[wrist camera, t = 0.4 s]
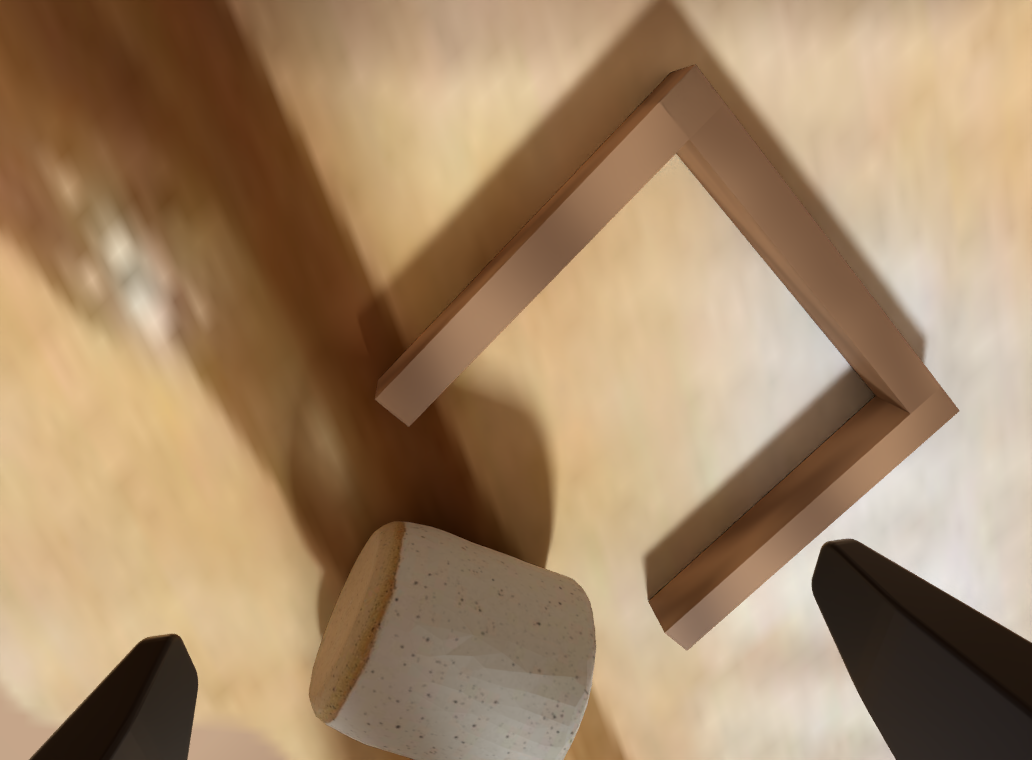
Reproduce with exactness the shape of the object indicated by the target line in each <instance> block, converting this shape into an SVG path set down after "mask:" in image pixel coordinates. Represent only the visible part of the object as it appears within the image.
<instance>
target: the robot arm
mask: <svg viewBox="0 0 1032 760" xmlns="http://www.w3.org/2000/svg"><path fill="white" fill-rule="evenodd" d="M812 591H813V595H814V597H815V600H816V602H817V604H818V606H819V609H820V611H821V613H822V615H823V617H824V620H825V622H826V624H827V626H828V628H829V631H830V633H831V635H832V637H833V639H834V642H835V644H836V646H837V648H838V650H839V653H840V655H841V657H842V659H843V661H844V664H845V666H846V668H847V670H848V672H849V675H850V677H851V679H852V681H853V683H854V685H855V687H856V689H857V691H858V693H859V695H860V697H861V699H862V701H863V703H864V705H865V706H866V708H867V710H868V712H869V714H870V715H871V717H872V719H873V721H874V722H875V724H876V726H877V727H878V729H879V731H880V733H881V734H882V736H883V738H884V740H885V741H886V743H887V745H888V747H889V748H890V750H891V752H892V754H893V755H894V757H895V759H896V760H1032V643H1031V642H1029V641H1028V640H1026V639H1024V638H1023V637H1021V636H1019V635H1018V634H1016V633H1014V632H1012V631H1011V630H1009V629H1007V628H1006V627H1004V626H1002V625H1000V624H999V623H997V622H995V621H994V620H992V619H990V618H988V617H987V616H985V615H983V614H982V613H980V612H978V611H977V610H975V609H973V608H971V607H970V606H968V605H966V604H965V603H963V602H961V601H959V600H958V599H956V598H954V597H953V596H951V595H949V594H947V593H946V592H944V591H942V590H941V589H939V588H937V587H936V586H934V585H932V584H930V583H929V582H927V581H925V580H924V579H922V578H920V577H918V576H917V575H915V574H913V573H912V572H910V571H908V570H906V569H905V568H903V567H901V566H900V565H898V564H896V563H895V562H893V561H891V560H889V559H888V558H886V557H884V556H883V555H881V554H879V553H877V552H876V551H874V550H872V549H871V548H869V547H867V546H865V545H864V544H862V543H860V542H858V541H856V540H854V539H841V540H834V541H828V542H826V543H825V544H824V545H823V546H822V548H821V550H820V554H819V557H818V560H817V564H816V567H815V570H814V574H813V577H812ZM197 691H198V677H197V672H196V669H195V667H194V665H193V663H192V660H191V658H190V656H189V654H188V652H187V649H186V647H185V645H184V643H183V641H182V639H181V637H180V636H178V635H177V634H167V635H159V636H152V637H147V638H145V639H143V640H142V641H140V642H139V643H138V644H137V645H136V646H135V647H134V648H133V649H132V650H131V651H130V652H129V653H128V654H127V655H126V656H125V658H124V659H123V660H122V661H121V662H120V663H119V664H118V665H117V666H116V667H115V668H114V669H113V670H112V671H111V672H110V674H109V675H108V676H107V677H106V678H105V679H104V680H103V681H102V682H101V683H100V684H99V685H98V686H97V687H96V689H95V690H94V691H93V692H92V693H91V694H90V695H89V696H88V697H87V698H86V699H85V700H84V701H83V702H82V704H81V705H80V706H79V707H78V708H77V709H76V710H75V711H74V712H73V713H72V714H71V715H70V716H69V717H68V718H67V720H66V721H65V722H64V723H63V724H62V725H61V726H60V727H59V728H58V729H57V730H56V731H55V732H54V733H53V735H52V736H51V737H50V738H49V739H48V740H47V741H46V742H45V743H44V744H43V745H42V746H41V748H40V749H39V750H38V751H37V752H36V753H35V754H34V755H33V756H32V757H31V758H30V759H29V760H187V758H188V752H189V744H190V737H191V732H192V725H193V718H194V712H195V705H196V698H197Z"/></svg>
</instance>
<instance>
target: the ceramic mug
mask: <svg viewBox="0 0 1032 760" xmlns="http://www.w3.org/2000/svg"><path fill="white" fill-rule="evenodd" d="M595 653H596V640H595V626H594V620H593V612H592V608H591V604H590V601H589V599H588V597H587V595H586V593H585V591H584V590H583V589H582V587H581V586H580V585H579V584H578V583H576V582H575V581H574V580H573V579H571V578H569V577H566V576H564V575H561V574H558V573H555V572H553V571H550V570H547V569H544V568H541V567H539V566H536V565H533V564H530V563H527V562H524V561H522V560H520V559H517V558H515V557H512V556H509V555H507V554H504V553H501V552H498V551H495V550H493V549H490V548H487V547H484V546H481V545H478V544H475V543H473V542H470V541H468V540H465V539H463V538H460V537H458V536H456V535H453V534H451V533H449V532H446V531H443V530H440V529H437V528H434V527H431V526H426V525H421V524H416V523H411V522H403V521H395V522H390V523H388V524H385V525H383V526H382V527H380V528H379V529H378V530H376V531H375V532H374V533H373V534H372V535H371V537H370V538H369V540H368V541H367V543H366V544H365V546H364V548H363V549H362V551H361V553H360V555H359V556H358V558H357V560H356V562H355V564H354V566H353V568H352V570H351V572H350V574H349V576H348V578H347V580H346V582H345V585H344V587H343V589H342V591H341V593H340V596H339V598H338V600H337V603H336V605H335V607H334V610H333V612H332V615H331V617H330V620H329V622H328V625H327V627H326V630H325V633H324V636H323V639H322V642H321V644H320V647H319V650H318V653H317V657H316V660H315V663H314V667H313V672H312V677H311V683H310V688H309V698H310V702H311V705H312V708H313V710H314V712H315V715H316V716H317V717H318V718H319V719H320V720H322V721H323V722H324V723H325V724H326V725H328V726H330V727H332V728H334V729H335V730H337V731H339V732H341V733H343V734H345V735H347V736H348V737H350V738H353V739H355V740H357V741H359V742H361V743H363V744H365V745H369V746H372V747H375V748H378V749H382V750H385V751H388V752H391V753H395V754H398V755H401V756H405V757H408V758H411V759H414V760H563V759H564V757H565V755H566V753H567V751H568V750H569V748H570V746H571V744H572V742H573V740H574V737H575V735H576V733H577V731H578V728H579V726H580V723H581V720H582V718H583V715H584V712H585V710H586V707H587V703H588V699H589V695H590V691H591V686H592V678H593V669H594V662H595Z"/></svg>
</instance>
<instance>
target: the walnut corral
mask: <svg viewBox="0 0 1032 760" xmlns="http://www.w3.org/2000/svg"><path fill="white" fill-rule="evenodd" d="M675 154H677V155H678V156H679V157H680V159H681V160H682V161H683V162H684V163H685V165H686V166H687V167H688V168H689V170H690V171H691V172H692V173H693V174H694V176H695V177H696V178H697V179H698V180H699V182H700V183H701V184H702V185H703V187H704V188H705V189H706V190H707V191H708V193H709V194H710V195H711V196H712V197H713V199H714V200H715V201H716V202H717V204H718V205H719V206H720V207H721V208H722V210H723V211H724V212H725V213H726V215H727V216H728V217H729V218H730V219H731V221H732V222H733V223H734V224H735V225H736V227H737V228H738V229H739V230H740V232H741V233H742V234H743V235H744V236H745V238H746V239H747V240H748V241H749V242H750V244H751V245H752V246H753V247H754V249H755V250H756V251H757V252H758V253H759V255H760V256H761V257H762V258H763V259H764V261H765V262H766V263H767V264H768V266H769V267H770V268H771V269H772V270H773V272H774V273H775V274H776V275H777V277H778V278H779V279H780V280H781V281H782V283H783V284H784V285H785V286H786V287H787V289H788V290H789V291H790V292H791V294H792V295H793V296H794V297H795V298H796V300H797V301H798V302H799V303H800V304H801V306H802V307H803V308H804V309H805V311H806V312H807V313H808V314H809V315H810V317H811V318H812V319H813V320H814V322H815V323H816V324H817V325H818V326H819V328H820V329H821V330H822V331H823V332H824V334H825V335H826V336H827V337H828V339H829V340H830V341H831V342H832V343H833V345H834V346H835V347H836V348H837V349H838V351H839V352H840V353H841V354H842V356H843V357H844V358H845V359H846V360H847V362H848V363H849V364H850V365H851V366H852V368H853V369H854V370H855V371H856V373H857V374H858V375H859V376H860V377H861V379H862V380H863V381H864V382H865V384H866V385H867V386H868V387H869V388H870V390H871V391H872V392H873V393H874V394H875V397H874V398H873V399H872V400H871V401H869V402H868V403H867V404H866V405H865V406H864V407H863V408H862V409H861V410H859V411H858V412H857V413H856V414H855V415H854V416H853V417H852V418H851V419H850V420H848V421H847V422H846V423H845V424H844V425H843V426H842V427H841V428H840V429H838V430H837V431H836V432H835V433H834V434H833V435H832V436H831V437H830V438H828V439H827V440H826V441H825V442H824V443H823V444H822V445H821V446H820V447H819V448H817V449H816V450H815V451H814V452H813V453H812V454H811V455H810V456H809V457H807V458H806V459H805V460H804V461H803V462H802V463H801V464H800V465H799V466H798V467H796V468H795V469H794V470H793V471H792V472H791V473H790V474H789V475H788V476H786V477H785V478H784V479H783V480H782V481H781V482H780V483H779V484H778V485H776V486H775V487H774V488H773V489H772V490H771V491H770V492H769V493H768V494H767V495H765V496H764V497H763V498H762V499H761V500H760V501H759V502H758V503H757V504H755V505H754V506H753V507H752V508H751V509H750V510H749V511H748V512H747V513H746V514H744V515H743V516H742V517H741V518H740V519H739V520H738V521H737V522H736V523H734V524H733V525H732V526H731V527H730V528H729V529H728V530H727V531H726V532H724V533H723V534H722V535H721V536H720V537H719V538H718V539H717V540H716V541H715V542H713V543H712V544H711V545H710V546H709V547H708V548H707V549H706V550H705V551H703V552H702V553H701V554H700V555H699V556H698V557H697V558H696V559H695V560H693V561H692V562H691V563H690V564H689V565H688V566H687V567H686V568H685V569H684V570H682V571H681V572H680V573H679V574H678V575H677V576H676V577H675V578H674V579H672V580H671V581H670V582H669V583H668V584H667V585H666V586H665V587H664V588H663V589H661V590H660V591H659V592H658V593H657V594H656V595H655V596H654V597H653V598H651V599H650V600H649V601H648V602H649V604H650V606H651V607H652V609H653V611H654V613H655V615H656V617H657V619H658V621H659V623H660V625H661V626H662V628H663V630H664V632H665V633H666V634H667V635H668V636H669V637H671V638H672V639H673V640H674V641H676V642H677V643H678V644H679V645H681V646H682V647H683V648H684V649H686V650H688V649H689V648H691V647H692V646H693V645H694V644H695V643H696V642H697V641H699V640H700V639H701V638H702V637H703V636H704V635H705V634H706V633H708V632H709V631H710V630H711V629H712V628H713V627H714V626H716V625H717V624H718V623H719V622H720V621H721V620H722V619H724V618H725V617H726V616H727V615H728V614H729V613H730V612H731V611H733V610H734V609H735V608H736V607H737V606H738V605H739V604H741V603H742V602H743V601H744V600H745V599H746V598H747V597H749V596H750V595H751V594H752V593H753V592H754V591H755V590H756V589H758V588H759V587H760V586H761V585H762V584H763V583H764V582H766V581H767V580H768V579H769V578H770V577H771V576H772V575H774V574H775V573H776V572H777V571H778V570H779V569H780V568H782V567H783V566H784V565H785V564H786V563H787V562H788V561H789V560H791V559H792V558H793V557H794V556H795V555H796V554H797V553H799V552H800V551H801V550H802V549H803V548H804V547H805V546H807V545H808V544H809V543H810V542H811V541H812V540H813V539H814V538H816V537H817V536H818V535H819V534H820V533H821V532H822V531H824V530H825V529H826V528H827V527H828V526H829V525H830V524H832V523H833V522H834V521H835V520H836V519H837V518H838V517H839V516H841V515H842V514H843V513H844V512H845V511H846V510H847V509H849V508H850V507H851V506H852V505H853V504H854V503H855V502H857V501H858V500H859V499H860V498H861V497H862V496H863V495H864V494H866V493H867V492H868V491H869V490H870V489H871V488H872V487H874V486H875V485H876V484H877V483H878V482H879V481H880V480H882V479H883V478H884V477H885V476H886V475H887V474H888V473H890V472H891V471H892V470H893V469H894V468H895V467H896V466H897V465H899V464H900V463H901V462H902V461H903V460H904V459H905V458H907V457H908V456H909V455H910V454H911V453H912V452H913V451H915V450H916V449H917V448H918V447H919V446H920V445H921V444H922V443H924V442H925V441H926V440H927V439H928V438H929V437H930V436H932V435H933V434H934V433H935V432H936V431H937V430H938V429H940V428H941V427H942V426H943V425H944V424H945V423H946V422H947V421H949V420H950V419H951V418H952V417H953V416H954V415H955V414H957V413H958V412H959V409H958V408H957V407H956V405H955V404H954V403H953V402H952V400H951V399H950V398H949V396H948V395H947V394H946V392H945V391H944V390H943V388H942V387H941V386H940V384H939V383H938V382H937V381H936V379H935V378H934V377H933V375H932V374H931V373H930V371H929V370H928V369H927V367H926V366H925V365H924V363H923V362H922V361H921V360H920V358H919V357H918V356H917V354H916V353H915V352H914V350H913V349H912V348H911V346H910V345H909V344H908V342H907V341H906V340H905V339H904V337H903V336H902V335H901V333H900V332H899V331H898V329H897V328H896V327H895V325H894V324H893V323H892V321H891V320H890V319H889V318H888V316H887V315H886V314H885V312H884V311H883V310H882V308H881V307H880V306H879V304H878V303H877V302H876V300H875V299H874V298H873V297H872V295H871V294H870V293H869V291H868V290H867V289H866V287H865V286H864V285H863V283H862V282H861V281H860V279H859V278H858V277H857V276H856V274H855V273H854V272H853V270H852V269H851V268H850V266H849V265H848V264H847V262H846V261H845V260H844V258H843V257H842V256H841V255H840V253H839V252H838V251H837V249H836V248H835V247H834V245H833V244H832V243H831V241H830V240H829V239H828V237H827V236H826V235H825V234H824V232H823V231H822V230H821V228H820V227H819V226H818V224H817V223H816V222H815V220H814V219H813V218H812V216H811V215H810V214H809V213H808V211H807V210H806V209H805V207H804V206H803V205H802V203H801V202H800V201H799V199H798V198H797V197H796V195H795V194H794V193H793V192H792V190H791V189H790V188H789V186H788V185H787V184H786V182H785V181H784V180H783V178H782V177H781V176H780V174H779V173H778V172H777V171H776V169H775V168H774V167H773V165H772V164H771V163H770V161H769V160H768V159H767V157H766V156H765V155H764V153H763V152H762V151H761V150H760V148H759V147H758V146H757V144H756V143H755V142H754V140H753V139H752V138H751V136H750V135H749V134H748V132H747V131H746V130H745V129H744V127H743V126H742V125H741V123H740V122H739V121H738V119H737V118H736V117H735V115H734V114H733V113H732V111H731V110H730V109H729V108H728V106H727V105H726V104H725V102H724V101H723V100H722V98H721V97H720V96H719V94H718V93H717V92H716V90H715V89H714V88H713V87H712V85H711V84H710V83H709V81H708V80H707V79H706V77H705V76H704V75H703V73H702V72H701V71H700V69H699V68H698V67H697V66H696V64H695V65H692V66H689V67H686V68H683V69H680V70H677V71H674V72H671V73H670V74H669V75H668V76H667V77H666V78H665V79H664V80H663V81H662V82H661V83H660V84H659V85H658V86H657V87H656V89H655V90H654V91H653V92H652V93H651V94H650V95H649V96H648V97H647V98H646V99H645V100H644V101H643V102H642V103H641V104H640V105H639V106H638V107H637V108H636V110H635V111H634V112H633V113H632V114H631V115H630V116H629V117H628V118H627V119H626V120H625V121H624V122H623V123H622V124H621V125H620V126H619V127H618V128H617V129H616V131H615V132H614V133H613V134H612V135H611V136H610V137H609V138H608V139H607V140H606V141H605V142H604V143H603V144H602V145H601V146H600V147H599V148H598V149H597V150H596V152H595V153H594V154H593V155H592V156H591V157H590V158H589V159H588V160H587V161H586V162H585V163H584V164H583V165H582V166H581V167H580V168H579V169H578V170H577V171H576V173H575V174H574V175H573V176H572V177H571V178H570V179H569V180H568V181H567V182H566V183H565V184H564V185H563V186H562V187H561V188H560V189H559V190H558V191H557V192H556V194H555V195H554V196H553V197H552V198H551V199H550V200H549V201H548V202H547V203H546V204H545V205H544V206H543V207H542V208H541V209H540V210H539V211H538V212H537V214H536V215H535V216H534V217H533V218H532V219H531V220H530V221H529V222H528V223H527V224H526V225H525V226H524V227H523V228H522V229H521V230H520V231H519V232H518V233H517V235H516V236H515V237H514V238H513V239H512V240H511V241H510V242H509V243H508V244H507V245H506V246H505V247H504V248H503V249H502V250H501V251H500V252H499V253H498V254H497V256H496V257H495V258H494V259H493V260H492V261H491V262H490V263H489V264H488V265H487V266H486V267H485V268H484V269H483V270H482V271H481V272H480V273H479V274H478V275H477V277H476V278H475V279H474V280H473V281H472V282H471V283H470V284H469V285H468V286H467V287H466V288H465V289H464V290H463V291H462V292H461V293H460V294H459V295H458V296H457V298H456V299H455V300H454V301H453V302H452V303H451V304H450V305H449V306H448V307H447V308H446V309H445V310H444V311H443V312H442V313H441V314H440V315H439V316H438V317H437V319H436V320H435V321H434V322H433V323H432V324H431V325H430V326H429V327H428V328H427V329H426V330H425V331H424V332H423V333H422V334H421V335H420V336H419V337H418V338H417V340H416V341H415V342H414V343H413V344H412V345H411V346H410V347H409V348H408V349H407V350H406V351H405V352H404V353H403V354H402V355H401V356H400V357H399V358H398V359H397V361H396V362H395V363H394V364H393V365H392V366H391V367H390V368H389V369H388V370H387V371H386V372H385V373H384V374H383V375H382V376H381V377H380V378H379V379H378V383H377V389H376V395H375V400H376V401H377V402H378V403H380V404H381V405H382V406H383V407H385V408H386V409H387V410H388V411H390V412H391V413H392V414H393V415H395V416H396V417H397V418H398V419H400V420H401V421H402V422H403V423H405V424H406V425H407V426H408V427H409V426H410V425H411V424H412V423H413V422H414V421H415V420H416V419H417V418H418V417H419V416H420V415H421V414H422V413H423V412H424V411H425V410H426V409H427V408H428V407H429V406H430V405H431V404H432V403H433V402H434V401H435V400H436V399H437V398H438V397H439V396H440V395H441V393H442V392H443V391H444V390H445V389H446V388H447V387H448V386H449V385H450V384H451V383H452V382H453V381H454V380H455V379H456V378H457V377H458V376H459V375H460V374H461V373H462V372H463V371H464V370H465V369H466V368H467V367H468V366H469V365H470V364H471V363H472V362H473V361H474V360H475V359H476V358H477V357H478V356H479V355H480V353H481V352H482V351H483V350H484V349H485V348H486V347H487V346H488V345H489V344H490V343H491V342H492V341H493V340H494V339H495V338H496V337H497V336H498V335H499V334H500V333H501V332H502V331H503V330H504V329H505V328H506V327H507V326H508V325H509V324H510V323H511V322H512V321H513V320H514V319H515V318H516V317H517V316H518V315H519V313H520V312H521V311H522V310H523V309H524V308H525V307H526V306H527V305H528V304H529V303H530V302H531V301H532V300H533V299H534V298H535V297H536V296H537V295H538V294H539V293H540V292H541V291H542V290H543V289H544V288H545V287H546V286H547V285H548V284H549V283H550V282H551V281H552V280H553V279H554V278H555V277H556V276H557V275H558V274H559V272H560V271H561V270H562V269H563V268H564V267H565V266H566V265H567V264H568V263H569V262H570V261H571V260H572V259H573V258H574V257H575V256H576V255H577V254H578V253H579V252H580V251H581V250H582V249H583V248H584V247H585V246H586V245H587V244H588V243H589V242H590V241H591V240H592V239H593V238H594V237H595V236H596V235H597V234H598V232H599V231H600V230H601V229H602V228H603V227H604V226H605V225H606V224H607V223H608V222H609V221H610V220H611V219H612V218H613V217H614V216H615V215H616V214H617V213H618V212H619V211H620V210H621V209H622V208H623V207H624V206H625V205H626V204H627V203H628V202H629V201H630V200H631V199H632V198H633V197H634V196H635V195H636V194H637V193H638V191H639V190H640V189H641V188H642V187H643V186H644V185H645V184H646V183H647V182H648V181H649V180H650V179H651V178H652V177H653V176H654V175H655V174H656V173H657V172H658V171H659V170H660V169H661V168H662V167H663V166H664V165H665V164H666V163H667V162H668V161H669V160H670V159H671V158H672V157H673V156H674V155H675Z"/></svg>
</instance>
